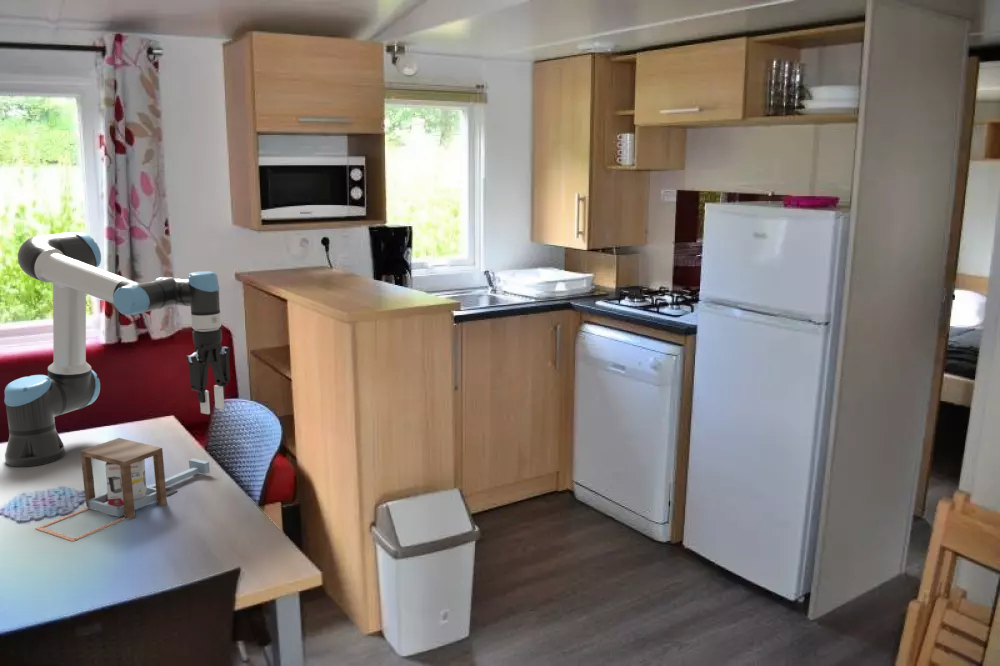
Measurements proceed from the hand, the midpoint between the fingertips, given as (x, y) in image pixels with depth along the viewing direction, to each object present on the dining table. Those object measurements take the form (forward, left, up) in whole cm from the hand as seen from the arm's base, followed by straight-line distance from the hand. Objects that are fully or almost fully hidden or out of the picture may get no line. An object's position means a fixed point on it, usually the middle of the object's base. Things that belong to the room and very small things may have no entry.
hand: (212, 410), depth 228 cm
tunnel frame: (0, -30, -17) cm, 34 cm away
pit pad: (0, -20, -17) cm, 26 cm away
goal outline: (0, -42, -17) cm, 45 cm away
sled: (0, -21, -16) cm, 26 cm away
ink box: (0, -29, -17) cm, 34 cm away
